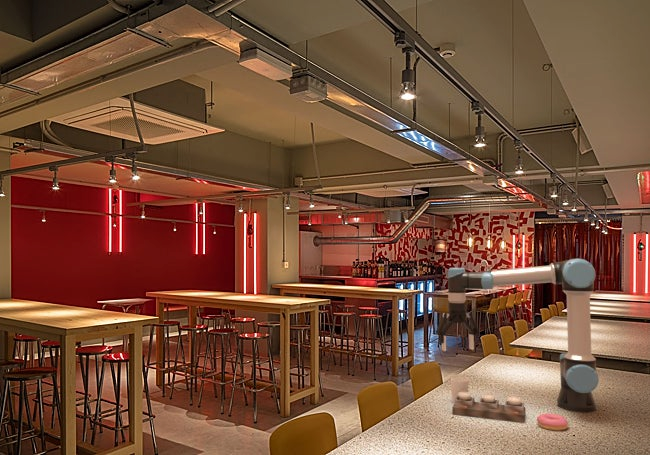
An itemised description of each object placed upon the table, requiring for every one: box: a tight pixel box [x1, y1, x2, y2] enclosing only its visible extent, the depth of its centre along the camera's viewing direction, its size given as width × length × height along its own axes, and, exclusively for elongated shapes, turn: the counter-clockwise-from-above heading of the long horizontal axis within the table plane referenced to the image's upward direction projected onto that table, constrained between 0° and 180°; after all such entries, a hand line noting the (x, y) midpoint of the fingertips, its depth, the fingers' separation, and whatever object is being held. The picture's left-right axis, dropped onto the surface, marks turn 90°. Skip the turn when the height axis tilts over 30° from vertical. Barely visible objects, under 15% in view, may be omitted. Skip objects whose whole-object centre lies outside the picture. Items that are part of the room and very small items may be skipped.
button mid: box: [482, 393, 496, 402], centre depth 205 cm, size 5×5×2 cm
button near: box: [507, 396, 522, 405], centre depth 200 cm, size 5×5×2 cm
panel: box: [451, 396, 527, 424], centre depth 203 cm, size 28×12×5 cm, turn 66°
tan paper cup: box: [450, 376, 469, 403], centre depth 222 cm, size 8×8×10 cm
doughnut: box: [536, 413, 569, 431], centre depth 188 cm, size 11×11×4 cm
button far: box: [458, 391, 472, 400], centre depth 209 cm, size 5×5×2 cm
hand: (457, 350), depth 216 cm, fingers open, 13 cm apart
